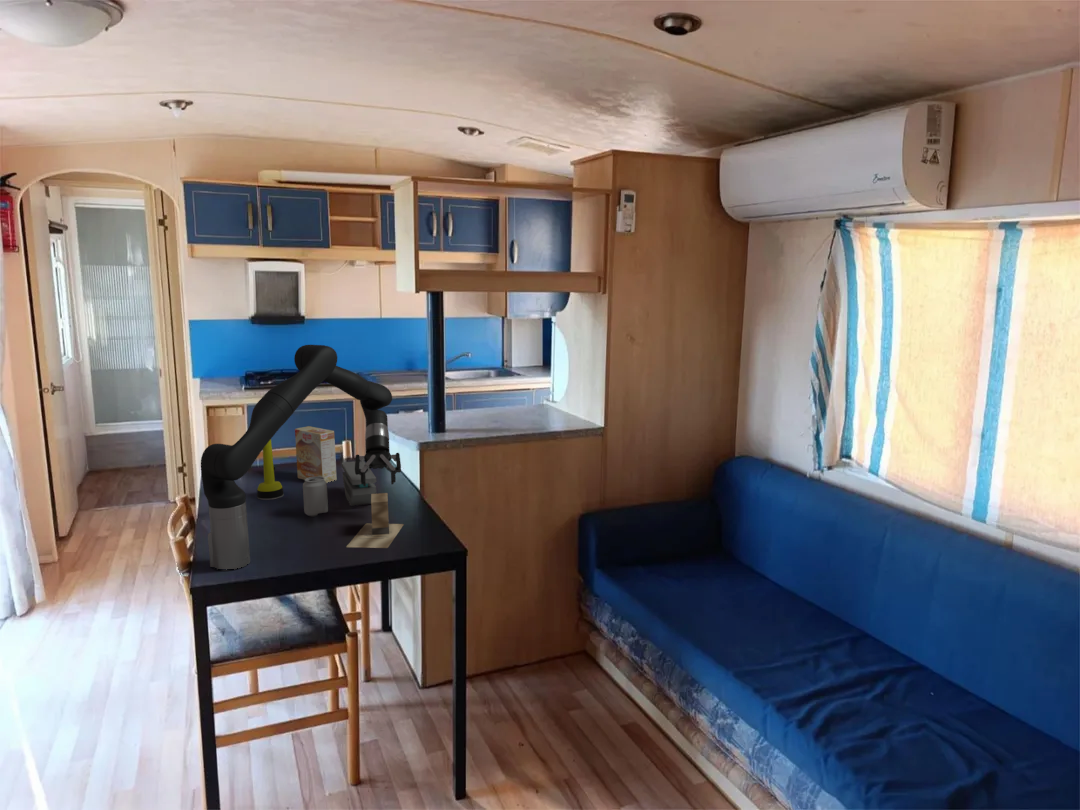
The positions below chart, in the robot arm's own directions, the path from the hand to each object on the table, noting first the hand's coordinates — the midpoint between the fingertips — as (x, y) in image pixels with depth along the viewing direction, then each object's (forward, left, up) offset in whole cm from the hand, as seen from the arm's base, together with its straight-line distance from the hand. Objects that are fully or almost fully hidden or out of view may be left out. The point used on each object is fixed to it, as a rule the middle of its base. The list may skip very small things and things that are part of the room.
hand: (378, 484), depth 229 cm
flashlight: (-47, +27, -13) cm, 56 cm away
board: (+2, -13, -13) cm, 19 cm away
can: (-24, +9, -13) cm, 29 cm away
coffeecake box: (-38, +49, -13) cm, 63 cm away
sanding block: (+2, -8, -12) cm, 15 cm away
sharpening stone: (-14, +24, -13) cm, 31 cm away
